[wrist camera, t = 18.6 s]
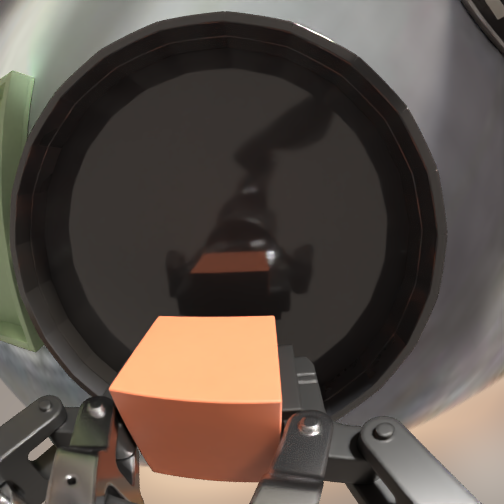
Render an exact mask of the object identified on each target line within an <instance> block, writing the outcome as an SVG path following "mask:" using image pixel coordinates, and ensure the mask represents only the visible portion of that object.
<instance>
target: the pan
mask: <svg viewBox="0 0 504 504" xmlns="http://www.w3.org/2000/svg"><path fill="white" fill-rule="evenodd" d="M446 243H447V224H446V216H445V208H444V201H443V194H442V188H441V183H440V177H439V172H438V170H437V166H436V164H435V161H434V159H433V157H432V154H431V152H430V150H429V148H428V146H427V143H426V141H425V139H424V137H423V135H422V133H421V131H420V129H419V127H418V125H417V123H416V121H415V120H414V118H413V116H412V114H411V112H410V110H409V109H408V108H407V106H406V104H405V103H404V102H403V101H402V100H401V99H400V98H399V96H398V95H397V94H396V93H395V92H394V91H393V90H392V89H391V88H390V87H389V85H388V84H387V83H386V82H385V81H384V80H383V79H382V78H381V77H380V76H379V75H378V74H377V73H376V72H375V71H374V70H373V69H372V68H371V67H370V66H369V65H368V64H367V63H366V62H364V61H363V60H362V59H361V58H360V57H359V56H358V57H357V55H356V54H354V53H353V52H351V51H349V50H348V49H346V48H344V47H342V46H341V45H339V44H337V43H335V42H333V41H331V40H330V39H328V38H326V37H324V36H322V35H320V34H318V33H316V32H314V31H312V30H310V29H308V28H306V27H303V26H301V25H299V24H297V23H295V24H294V22H290V21H286V20H281V19H276V18H271V17H265V16H260V15H253V14H246V13H238V12H229V11H226V12H224V11H221V12H211V13H203V14H195V15H189V16H183V17H177V18H172V19H167V20H162V21H159V22H155V23H153V24H150V25H148V26H146V27H144V28H141V29H139V30H137V31H135V32H133V33H131V34H129V35H127V36H125V37H123V38H121V39H119V40H117V41H115V42H113V43H111V44H110V45H108V46H106V47H104V48H102V49H101V50H100V51H98V52H97V53H96V54H95V55H94V56H92V57H91V58H90V59H89V60H88V61H87V62H86V63H84V64H83V65H82V66H81V67H80V68H79V69H78V70H77V71H76V72H75V73H74V74H73V75H71V76H70V77H69V78H68V79H67V80H66V81H65V82H64V83H63V84H62V85H61V86H60V87H59V89H58V90H57V91H56V92H55V93H54V95H53V96H52V98H51V99H50V101H49V102H48V104H47V105H46V107H45V109H44V110H43V112H42V113H41V115H40V117H39V118H38V120H37V122H36V124H35V125H34V127H33V129H32V131H31V132H30V134H29V136H28V138H27V141H26V143H25V146H24V149H23V152H22V155H21V158H20V162H19V165H18V168H17V172H16V176H15V180H14V183H13V188H12V193H11V204H10V250H11V256H12V262H13V267H14V272H15V276H16V281H17V285H18V289H19V293H20V296H21V298H22V301H23V303H24V306H25V308H26V310H27V312H28V315H29V317H30V319H31V321H32V323H33V325H34V327H35V329H36V331H37V333H38V335H39V337H40V339H41V340H42V342H43V343H44V345H45V346H46V347H47V349H48V350H49V351H50V353H51V354H52V355H53V357H54V358H55V359H56V361H57V362H58V363H59V364H60V366H61V367H62V368H63V369H64V371H65V372H66V373H67V374H68V376H69V377H71V379H72V380H73V381H74V382H76V383H77V384H78V385H79V386H80V387H81V388H82V389H84V390H85V391H86V392H87V393H88V394H89V395H91V396H92V397H94V396H102V395H103V394H104V392H105V391H106V389H107V388H108V386H109V385H110V383H111V382H112V380H113V379H114V377H115V376H116V375H117V373H118V372H119V370H120V369H122V366H123V364H124V363H125V362H126V360H127V359H128V358H130V356H131V355H132V353H133V352H134V350H135V349H136V347H137V346H138V345H139V343H140V342H141V340H142V339H143V337H144V336H145V335H146V333H147V332H148V330H149V329H150V328H151V326H152V325H153V323H154V322H155V321H156V319H157V318H158V317H159V316H174V317H246V316H274V317H275V325H276V335H277V346H281V345H292V346H293V351H294V357H307V358H308V359H309V360H310V361H311V362H312V363H313V364H314V368H315V372H316V375H317V379H318V383H319V387H320V391H321V395H322V399H323V404H324V408H325V411H326V413H327V415H328V416H329V417H330V418H331V419H332V420H333V421H336V420H338V419H340V418H341V417H343V416H344V415H346V414H347V413H349V412H350V411H351V410H353V409H354V408H356V407H357V406H359V405H360V404H361V403H363V402H364V401H365V400H367V399H368V398H369V397H371V396H372V395H373V394H375V393H376V392H377V391H378V390H379V389H381V388H382V386H383V385H384V384H385V383H386V382H387V381H388V380H389V378H390V377H391V376H392V375H393V374H394V373H395V371H396V370H397V369H398V368H399V367H400V365H401V364H402V363H403V362H404V360H405V359H406V358H407V357H408V355H409V354H410V353H411V352H412V350H413V349H414V347H415V346H416V344H417V342H418V340H419V338H420V336H421V334H422V332H423V330H424V328H425V325H426V323H427V321H428V319H429V317H430V314H431V312H432V310H433V307H434V305H435V303H436V300H437V298H438V294H439V289H440V284H441V279H442V273H443V266H444V259H445V252H446Z"/></svg>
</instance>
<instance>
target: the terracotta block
mask: <svg viewBox="0 0 504 504" xmlns="http://www.w3.org/2000/svg"><path fill="white" fill-rule="evenodd" d="M109 391H110V394H111V396H112V398H113V400H114V403H115V405H116V407H117V409H118V411H119V413H120V415H121V417H122V419H123V421H124V423H125V425H126V427H127V429H128V431H129V432H130V434H131V436H132V438H133V440H134V442H135V443H136V445H137V447H138V448H139V450H140V452H141V454H142V455H143V457H144V458H145V460H146V462H147V463H148V465H149V466H150V468H151V469H152V471H153V472H157V473H162V474H167V475H173V476H179V477H186V478H194V479H203V480H213V481H229V482H260V480H261V478H262V476H263V475H264V474H265V473H267V472H268V470H269V468H270V466H271V463H272V461H273V458H274V456H275V453H276V451H277V448H278V445H279V443H280V440H281V423H282V393H281V381H280V369H279V357H278V346H277V335H276V325H275V317H274V316H246V317H174V316H159V317H158V318H157V319H156V321H155V322H154V323H153V325H152V326H151V328H150V329H149V330H148V332H147V333H146V335H145V336H144V337H143V339H142V340H141V342H140V343H139V345H138V346H137V347H136V349H135V350H134V352H133V353H132V355H131V356H130V358H129V359H128V360H127V362H126V363H125V365H124V366H123V368H122V369H121V371H120V372H119V374H118V375H117V377H116V378H115V380H114V381H113V383H112V384H111V386H110V387H109Z"/></svg>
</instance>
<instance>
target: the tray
mask: <svg viewBox="0 0 504 504" xmlns="http://www.w3.org/2000/svg"><path fill="white" fill-rule="evenodd" d="M33 84H34V77H31V76H28V75H25V74H22V73H19V72H16V71H11V72H10V73H8V74H7V75H5V76H4V77H2V78H1V79H0V340H1V341H4V342H6V343H9V344H12V345H15V346H18V347H21V348H24V349H27V350H31V351H33V352H37V351H38V350H39V349H40V348H41V347H42V346H43V345H44V343H43V342H42V340H41V339H40V337H39V335H38V333H37V331H36V329H35V327H34V325H33V323H32V321H31V319H30V317H29V315H28V312H27V310H26V308H25V306H24V303H23V301H22V298H21V296H20V293H19V289H18V285H17V281H16V276H15V272H14V267H13V262H12V256H11V250H10V204H11V193H12V188H13V183H14V180H15V176H16V172H17V168H18V165H19V162H20V158H21V155H22V152H23V149H24V146H25V143H26V141H27V130H28V119H29V110H30V102H31V96H32V89H33Z"/></svg>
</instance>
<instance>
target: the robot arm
mask: <svg viewBox="0 0 504 504" xmlns="http://www.w3.org/2000/svg"><path fill="white" fill-rule="evenodd" d="M461 1H462V3H463V4H464V6H465V7H466V9H467V10H468V12H469V13H470V15H471V16H472V18H473V19H474V20H475V22H476V23H477V24H478V26H479V27H480V28H481V29H482V31H483V32H484V33H485V34H486V36H487V37H488V38H489V39H490V40H491V41H492V43H493V44H494V45H495V46H496V47H497V48H498V49H499V50H500V51H501V52H502V53H503V54H504V0H461ZM278 357H279V369H280V381H281V393H282V423H281V440H280V443H279V445H278V448H277V451H276V453H275V456H274V458H273V461H272V463H271V466H270V468H269V470H268V472H267V473H265V474H264V475H263V476H262V478H261V480H260V482H259V484H258V486H257V488H256V490H255V493H254V495H253V497H252V499H251V501H250V503H249V504H319V501H320V497H321V493H322V488H323V483H324V482H323V481H331V482H341V483H345V484H346V486H347V487H348V489H349V490H350V492H351V493H352V495H353V496H354V498H355V499H356V500H357V502H358V504H482V503H481V502H480V501H479V500H478V499H477V498H476V497H475V496H474V495H473V494H471V493H470V492H469V491H468V490H467V489H466V488H465V487H464V486H463V485H462V484H461V483H460V482H459V481H458V480H457V479H456V478H455V477H454V476H453V475H452V474H451V473H450V472H449V471H448V470H447V469H446V468H445V467H444V466H443V465H442V464H441V463H440V462H439V461H438V460H437V459H436V458H435V457H434V456H433V455H432V454H431V453H430V452H429V451H428V450H427V449H426V448H425V447H424V446H423V445H422V444H421V443H420V442H419V441H418V440H417V439H416V437H415V436H414V435H413V434H412V433H411V432H410V431H409V430H408V429H407V428H406V427H405V426H404V425H403V424H402V423H401V422H400V421H398V420H396V419H394V418H391V417H386V416H381V417H375V418H372V419H370V420H368V421H367V422H366V423H365V424H364V425H363V427H360V426H348V425H343V424H339V423H337V422H335V421H333V420H332V419H331V418H330V417H329V416H328V415H327V413H326V411H325V408H324V404H323V399H322V395H321V391H320V387H319V383H318V379H317V375H316V372H315V368H314V364H313V363H312V362H311V361H310V360H309V359H308V358H307V357H294V351H293V346H292V345H281V346H278ZM128 359H129V358H128ZM128 359H127V360H128ZM127 360H126V362H127ZM126 362H125V363H126ZM125 363H124V364H123V366H124V365H125ZM123 366H122V368H123ZM120 371H121V369H120V370H119V372H120ZM119 372H118V373H117V375H118V374H119ZM117 375H116V376H115V377H114V379H113V380H112V382H111V383H110V385H109V386H108V388H107V389H106V391H105V392H104V394H103V395H102V396H94V397H91V398H89V399H87V400H85V401H84V402H83V403H82V404H81V406H80V407H64V406H63V404H62V402H61V400H60V399H59V398H58V397H56V396H53V395H47V396H43V397H41V398H39V399H37V400H36V401H35V402H33V403H32V404H30V405H29V406H28V407H26V408H25V409H24V410H22V411H21V412H20V413H18V414H17V415H16V416H14V417H13V418H11V419H10V420H9V421H7V422H6V423H5V424H3V425H2V426H1V427H0V504H42V502H44V501H45V504H144V501H143V498H142V496H141V493H140V487H139V450H138V448H137V445H136V443H135V442H134V440H133V438H132V436H131V434H130V432H129V431H128V429H127V427H126V425H125V423H124V421H123V419H122V417H121V415H120V413H119V411H118V409H117V407H116V405H115V403H114V400H113V398H112V396H111V394H110V391H109V387H110V386H111V384H112V383H113V381H114V380H115V378H116V377H117ZM47 437H49V438H50V440H51V441H52V443H53V444H54V445H53V446H51V447H50V448H49V449H48V450H47V451H46V452H44V454H42V455H41V456H40V457H39V458H37V459H36V460H34V461H30V460H28V454H29V452H30V451H32V450H33V449H34V448H35V447H36V446H38V445H39V444H40V443H41V442H42V441H44V440H45V439H46V438H47Z"/></svg>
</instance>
